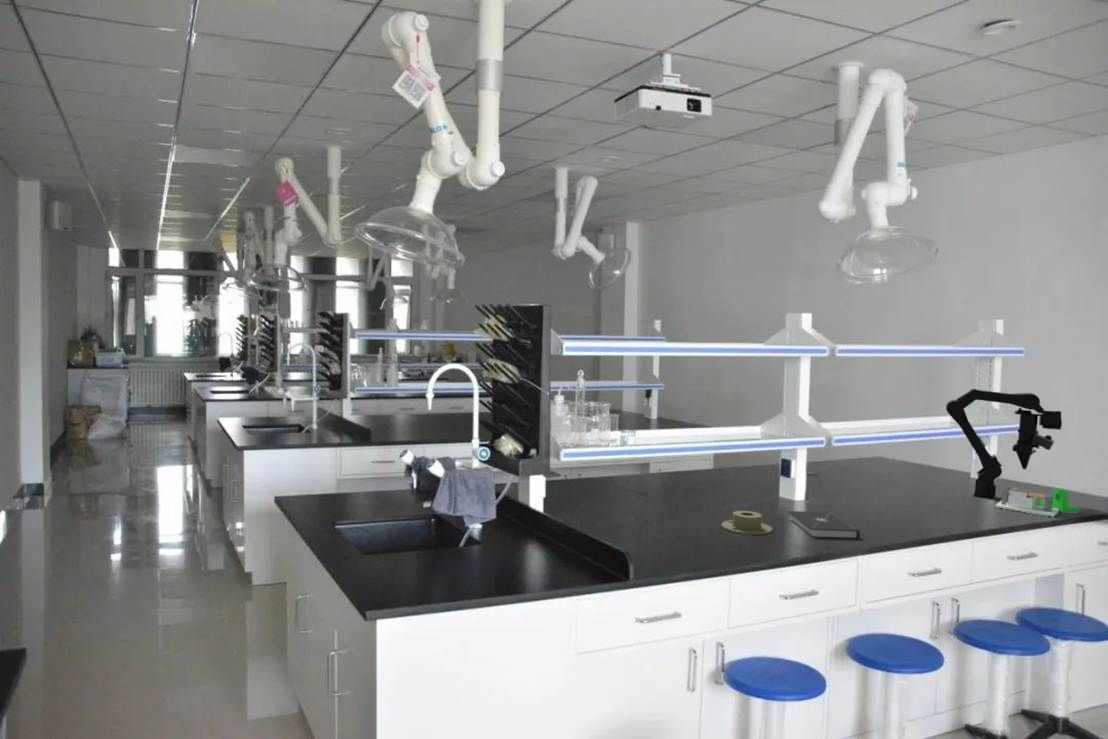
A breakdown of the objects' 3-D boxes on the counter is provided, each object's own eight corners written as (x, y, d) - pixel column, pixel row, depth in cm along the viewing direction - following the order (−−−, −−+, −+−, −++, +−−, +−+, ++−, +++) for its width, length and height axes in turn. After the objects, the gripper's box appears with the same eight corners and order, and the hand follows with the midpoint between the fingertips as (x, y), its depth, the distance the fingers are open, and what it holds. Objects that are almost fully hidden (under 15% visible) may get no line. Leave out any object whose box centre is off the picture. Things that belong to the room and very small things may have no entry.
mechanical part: (1078, 513, 289) (1080, 491, 288) (1061, 513, 288) (1063, 490, 288) (1056, 505, 301) (1058, 484, 300) (1040, 505, 300) (1042, 483, 300)
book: (859, 540, 243) (860, 530, 243) (810, 538, 242) (811, 528, 242) (831, 521, 265) (832, 512, 264) (786, 520, 264) (786, 510, 264)
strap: (1003, 493, 294) (1003, 489, 294) (1004, 491, 296) (1005, 488, 296) (1043, 498, 286) (1044, 495, 286) (1045, 497, 288) (1045, 494, 288)
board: (995, 507, 292) (995, 505, 291) (1001, 502, 301) (1001, 499, 301) (1053, 517, 280) (1054, 514, 280) (1058, 511, 290) (1059, 508, 290)
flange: (742, 505, 260) (712, 512, 250) (782, 516, 249) (753, 523, 239) (741, 520, 260) (711, 527, 250) (782, 531, 249) (752, 538, 239)
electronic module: (1000, 504, 293) (1001, 489, 292) (1004, 501, 298) (1005, 486, 298) (1049, 512, 283) (1051, 496, 283) (1052, 509, 289) (1054, 493, 288)
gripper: (1049, 432, 291) (1045, 475, 292) (1056, 427, 306) (1053, 469, 307) (1014, 428, 298) (1010, 470, 299) (1022, 424, 312) (1019, 464, 314)
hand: (1024, 468), depth 304 cm, fingers closed
